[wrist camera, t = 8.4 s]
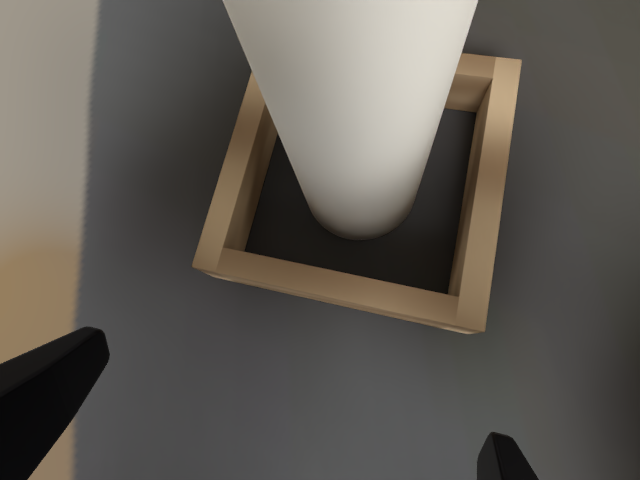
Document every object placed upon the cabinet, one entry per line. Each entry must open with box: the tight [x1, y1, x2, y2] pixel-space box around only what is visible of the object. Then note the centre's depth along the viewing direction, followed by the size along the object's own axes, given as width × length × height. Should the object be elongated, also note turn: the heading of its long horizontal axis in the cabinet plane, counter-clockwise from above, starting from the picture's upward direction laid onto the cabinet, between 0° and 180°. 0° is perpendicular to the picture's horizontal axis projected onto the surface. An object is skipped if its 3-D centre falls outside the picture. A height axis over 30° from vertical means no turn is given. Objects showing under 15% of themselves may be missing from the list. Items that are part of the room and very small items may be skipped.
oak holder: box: [192, 53, 522, 334], centre depth 17 cm, size 11×11×2 cm
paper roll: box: [223, 0, 478, 240], centre depth 12 cm, size 5×5×13 cm
